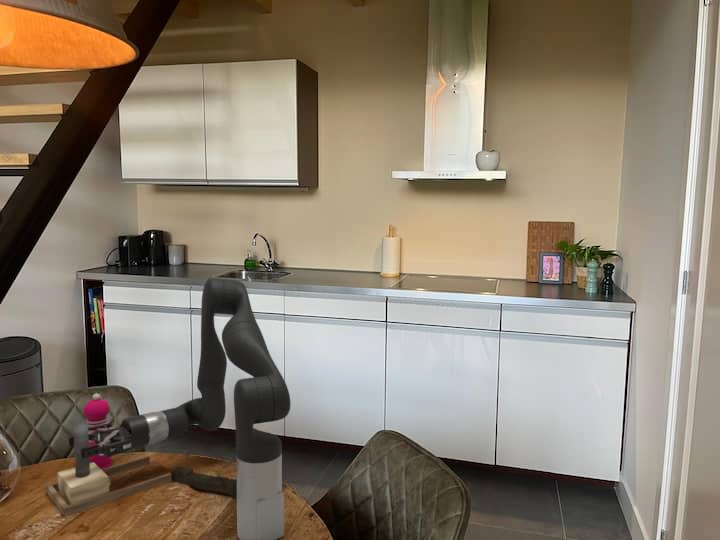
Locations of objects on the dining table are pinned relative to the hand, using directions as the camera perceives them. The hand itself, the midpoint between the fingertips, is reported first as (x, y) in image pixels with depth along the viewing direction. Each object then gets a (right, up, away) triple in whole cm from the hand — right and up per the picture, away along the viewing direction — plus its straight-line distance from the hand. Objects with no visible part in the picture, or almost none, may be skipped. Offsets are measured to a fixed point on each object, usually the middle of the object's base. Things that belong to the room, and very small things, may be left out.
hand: (74, 447), depth 130 cm
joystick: (+1, -12, +2) cm, 12 cm away
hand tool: (+27, -13, +8) cm, 31 cm away
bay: (+5, -12, +6) cm, 15 cm away
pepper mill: (-3, -11, +18) cm, 21 cm away
